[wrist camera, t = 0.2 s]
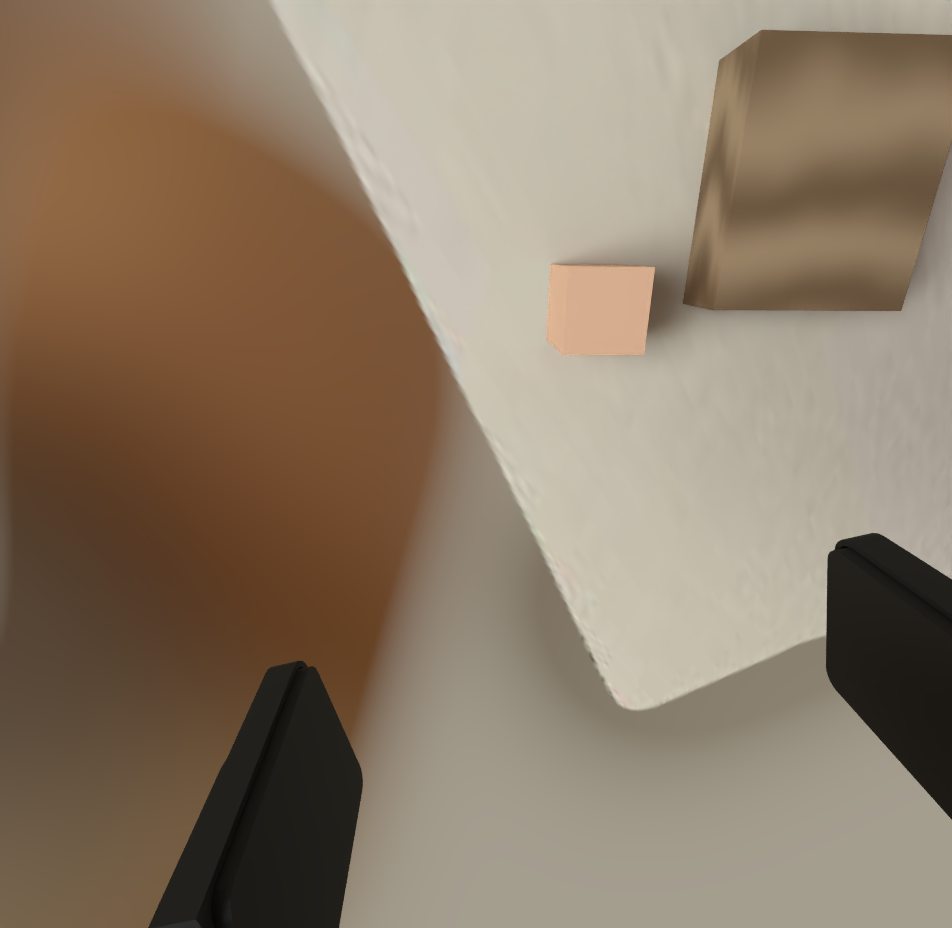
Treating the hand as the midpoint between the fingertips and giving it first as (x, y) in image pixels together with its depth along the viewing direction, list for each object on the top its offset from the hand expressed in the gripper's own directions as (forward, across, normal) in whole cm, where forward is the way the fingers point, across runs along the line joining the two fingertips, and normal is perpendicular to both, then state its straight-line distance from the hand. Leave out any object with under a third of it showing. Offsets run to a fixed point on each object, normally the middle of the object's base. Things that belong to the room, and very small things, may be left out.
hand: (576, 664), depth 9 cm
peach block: (+30, -8, -2) cm, 31 cm away
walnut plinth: (+30, -22, -6) cm, 38 cm away
